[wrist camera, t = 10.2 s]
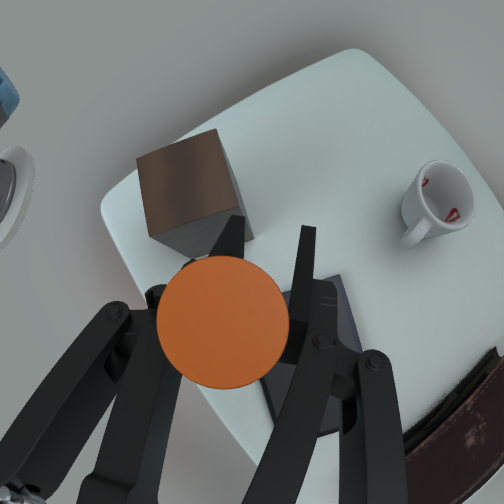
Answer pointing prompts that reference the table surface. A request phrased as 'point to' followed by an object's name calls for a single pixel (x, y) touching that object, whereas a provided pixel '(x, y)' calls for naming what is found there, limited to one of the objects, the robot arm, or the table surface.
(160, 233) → the tall brown-topped block
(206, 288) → the orange cylinder
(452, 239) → the table surface
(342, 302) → the tablet
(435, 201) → the cup
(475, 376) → the diary
